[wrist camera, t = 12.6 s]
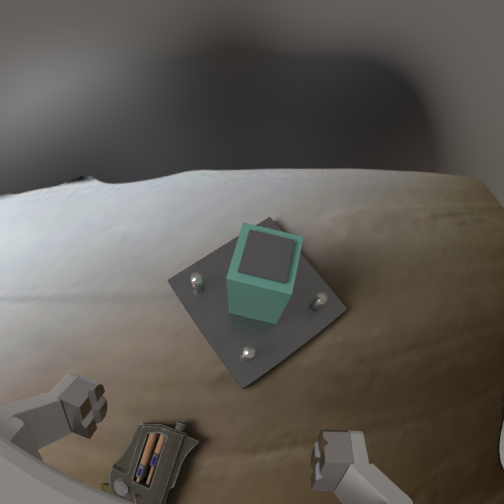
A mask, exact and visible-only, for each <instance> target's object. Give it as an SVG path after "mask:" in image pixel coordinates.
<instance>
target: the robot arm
mask: <svg viewBox="0 0 504 504" xmlns="http://www.w3.org/2000/svg"><path fill="white" fill-rule="evenodd" d="M104 392H105V391H104V387H103V385H101V384H99V383H97V382H94V381H92V380H89V379H87V378H84V377H82V376H79V375H76V374H74V373H72V372H70V373H67V374H66V375H65V376H64V377H63V378H62V379H61V380H60V381H59V382H58V383H57V384H56V385H55V386H54V387H53V389H52V390H51V391H50V392H49V393H48V394H46V393H42V394H39V395H35V396H32V397H28V398H25V399H21V400H18V401H14V402H10V403H7V404H3V405H0V504H136V503H133V502H131V501H128V500H125V499H122V498H120V497H117V496H115V495H112V494H110V493H107V492H105V491H102V490H100V489H98V488H95V487H93V486H91V485H88V484H86V483H84V482H82V481H80V480H78V479H76V478H73V477H71V476H69V475H67V474H65V473H63V472H62V471H60V470H58V469H56V468H54V467H52V466H50V465H48V464H47V463H45V462H43V460H42V457H41V456H40V454H39V452H38V449H40V448H42V447H44V446H47V445H49V444H51V443H53V442H55V441H57V440H59V439H61V438H63V437H65V436H67V435H69V434H71V433H72V432H73V433H75V434H78V435H80V436H83V437H85V438H88V439H90V438H91V436H92V435H93V434H94V432H95V431H96V429H97V426H96V423H99V422H101V421H102V420H103V419H104V417H105V415H106V412H107V400H106V399H105V398H104V396H103V394H104ZM500 458H501V463H502V466H503V468H504V422H503V426H502V431H501V437H500ZM311 467H312V468H313V469H314V470H313V473H312V475H311V490H325V491H334V493H335V494H336V496H337V497H338V498H339V500H340V501H341V503H342V504H413V502H412V500H411V499H410V498H409V497H408V496H407V495H406V494H405V493H404V492H402V491H401V490H400V489H399V488H398V487H397V486H396V485H395V484H394V483H393V482H392V481H391V480H389V479H388V478H387V477H386V476H385V475H384V474H383V473H382V472H381V471H380V470H379V469H378V468H377V467H376V466H375V465H374V464H369V460H368V455H367V450H366V445H365V440H364V435H363V432H362V431H344V430H323V429H322V430H321V431H320V432H319V435H318V442H317V443H315V445H314V447H313V451H312V455H311Z"/></svg>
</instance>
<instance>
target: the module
mask: <svg viewBox="0 0 504 504" xmlns="http://www.w3.org/2000/svg"><path fill="white" fill-rule="evenodd" d="M302 242H303V237H302V236H298V235H293V234H289V233H285V232H281V231H277V230H273V229H269V228H264V227H260V226H256V225H252V224H247V223H243V224H242V228H241V231H240V234H239V238H238V241H237V244H236V248H235V251H234V254H233V257H232V261H231V264H230V268H229V271H228V274H227V278H226V282H227V295H228V306H229V313H232V314H236V315H240V316H244V317H248V318H252V319H256V320H260V321H264V322H268V323H273V324H276V323H277V322H278V320H279V318H280V316H281V314H282V312H283V310H284V309H285V307H286V305H287V303H288V301H289V299H290V297H291V295H292V291H293V287H294V282H295V277H296V272H297V267H298V262H299V257H300V252H301V247H302Z"/></svg>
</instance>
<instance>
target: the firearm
mask: <svg viewBox="0 0 504 504" xmlns="http://www.w3.org/2000/svg"><path fill="white" fill-rule="evenodd" d="M185 427H186V424H184V423H181V422H177V423H176V426H175V428H173V427H171V426H168V425H166V424H151V423H142V424H139V425H138V427H137V429H136V432H135V434H134V436H133V438H132V441H131V443H130V445H129V446H128V448H127V449H126V451H125V452H124V454H123V455H122V456H121V457H120V458H119V459H118V461H117V462H116V463H115V464H113V465H112V467H111V470H110V472H109V484H105V483H104V484H101V485H102V491H105V492H107V493H110V494H112V495H115V496H117V497H120V498H122V499H125V500H128V501H131V502H133V503H136V504H166V501H167V498H168V495H169V492H170V489H171V488H173V487H175V484H176V481H177V478H178V475H179V472H180V469H181V466H182V463H183V461H184V459H185V457H186V456H187V454H188V453H189V452H190V451H191V450H192V449H193V448H194V447H195V446H196V445H198V444H199V441H197V440H195V439H193V438H191V437H189V436H188V435H187V433H186V432H184V430H185ZM159 436H160V437H159ZM158 439H159V440H158ZM157 442H158V443H157ZM156 445H157V446H156ZM155 448H156V449H155ZM154 451H155V452H154ZM150 466H152V467H151V470H150V473H149V476H148V479H147V482H145V481H143V479H144V477H147V475H148V471H149V468H150ZM155 468H156V470H155V473H154V476H153V479H152V482H151V478H152V475H153V472H154V469H155ZM150 482H151V484H150Z"/></svg>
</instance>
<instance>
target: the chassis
mask: <svg viewBox="0 0 504 504" xmlns="http://www.w3.org/2000/svg"><path fill="white" fill-rule="evenodd" d="M256 226H260V227H264V228H269V229H273V230H277V231H281V232H282V230H281V229H280V228H279V227H278V226H277V225H276V224H275V222H274V221H273V220H272V219H271V218H270V217H269V218H267V219H266V220H264V221H262V222H261V223H259V224H257V225H256ZM238 238H239V236H238V237H236V238H235V239H233V240H231V241H230V242H228V243H227V244H225V245H223V246H222V247H220V248H218V249H217V250H215V251H214V252H212V253H210V254H209V255H207V256H206V257H204V258H202V259H201V260H199V261H198V262H196V263H194V264H193V265H191V266H190V267H188V268H186V269H185V270H183V271H182V272H180V273H178V274H177V275H175V276H174V277H172V278H171V279H169V280H168V282H169V284H170V285H171V287H172V289H173V290H174V292H175V293H176V295H177V296H178V298H179V299H180V301H181V302H182V304H183V306H184V307H185V309H186V310H187V312H188V313H189V315H190V316H191V318H192V319H193V321H194V322H195V323H196V325H197V326H198V328H199V329H200V331H201V332H202V334H203V335H204V337H205V338H206V339H207V341H208V342H209V344H210V345H211V347H212V348H213V349H214V351H215V352H216V354H217V355H218V356H219V358H220V359H221V361H222V362H223V363H224V365H225V366H226V368H227V369H228V370H229V372H230V373H231V374H232V376H233V377H234V378H235V380H236V381H237V382H238V384H239V385H240V386H241V388H242V389H243V388H245V387H246V386H248V385H249V384H250V383H252V382H253V381H255V380H256V379H258V378H259V377H260V376H262V375H263V374H265V373H266V372H267V371H269V370H270V369H272V368H273V367H274V366H276V365H277V364H278V363H280V362H281V361H282V360H284V359H285V358H286V357H288V356H289V355H290V354H292V353H293V352H294V351H296V350H297V349H298V348H300V347H301V346H302V345H303V344H305V343H306V342H307V341H309V340H310V339H311V338H312V337H314V336H315V335H316V334H317V333H319V332H320V331H321V330H322V329H324V328H325V327H326V326H327V325H329V324H330V323H331V322H332V321H334V320H335V319H336V318H337V317H338V316H340V315H341V314H342V313H343V312H344V311H346V310H347V308H346V307H345V306H344V304H343V303H342V302H341V301H340V299H339V298H338V297H337V296H336V295H335V293H334V292H333V291H332V290H331V289H330V287H329V286H328V285H327V284H326V283H325V281H324V280H323V279H322V278H321V276H320V275H319V274H318V273H317V272H316V271H315V269H314V268H313V267H312V266H311V265H310V263H309V262H308V261H307V260H306V259H305V257H304V256H303V255H302V254H301V253H300V257H299V262H298V267H297V272H296V277H295V282H294V287H293V291H292V295H291V297H290V299H289V301H288V303H287V305H286V307H285V309H284V310H283V312H282V314H281V316H280V318H279V320H278V322H277V323H276V324H273V323H268V322H264V321H260V320H256V319H252V318H248V317H244V316H240V315H236V314H232V313H229V306H228V295H227V282H226V278H227V274H228V271H229V268H230V264H231V261H232V257H233V254H234V251H235V248H236V244H237V241H238Z"/></svg>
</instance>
